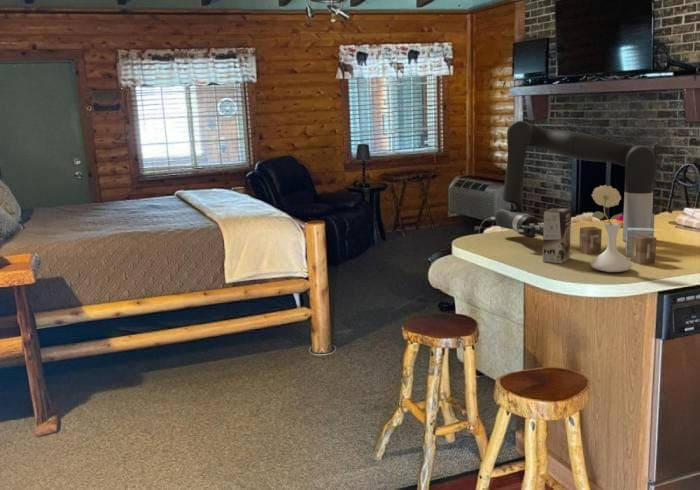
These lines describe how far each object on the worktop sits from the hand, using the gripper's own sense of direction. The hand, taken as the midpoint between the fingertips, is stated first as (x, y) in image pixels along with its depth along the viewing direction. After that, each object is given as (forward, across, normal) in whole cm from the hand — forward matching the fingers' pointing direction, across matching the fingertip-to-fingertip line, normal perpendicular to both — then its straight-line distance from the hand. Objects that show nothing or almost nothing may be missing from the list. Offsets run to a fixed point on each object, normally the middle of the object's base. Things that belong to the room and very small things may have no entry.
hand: (546, 233), depth 219 cm
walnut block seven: (0, +15, +7) cm, 17 cm away
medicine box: (+9, +27, +7) cm, 29 cm away
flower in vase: (+24, +9, +7) cm, 27 cm away
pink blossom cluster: (-43, +49, +8) cm, 66 cm away
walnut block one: (+18, +23, +7) cm, 30 cm away
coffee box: (+8, 0, +7) cm, 11 cm away
